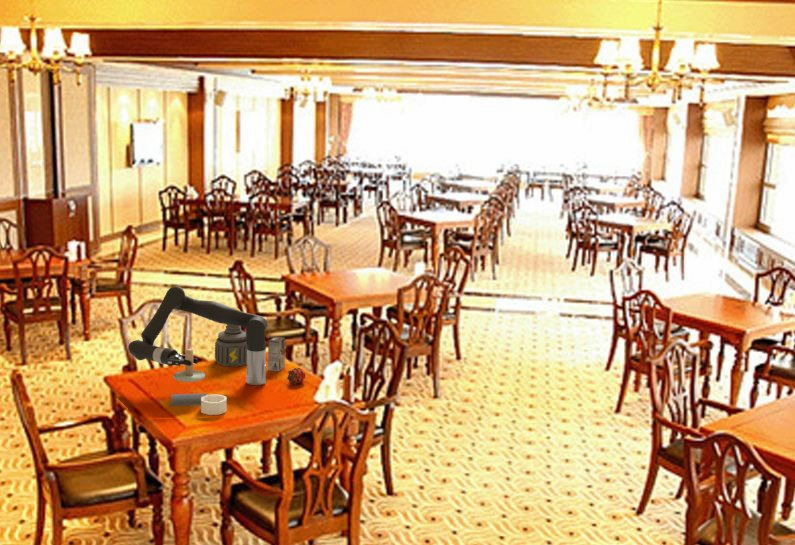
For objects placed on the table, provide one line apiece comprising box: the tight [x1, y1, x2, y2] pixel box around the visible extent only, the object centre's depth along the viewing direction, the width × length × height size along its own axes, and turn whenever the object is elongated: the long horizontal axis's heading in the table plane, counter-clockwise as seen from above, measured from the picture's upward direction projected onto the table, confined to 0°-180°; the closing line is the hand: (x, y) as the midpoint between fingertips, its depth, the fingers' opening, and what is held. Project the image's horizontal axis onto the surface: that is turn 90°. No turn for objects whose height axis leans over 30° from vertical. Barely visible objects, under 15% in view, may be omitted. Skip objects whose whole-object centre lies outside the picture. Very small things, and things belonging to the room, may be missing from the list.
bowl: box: [200, 394, 228, 416], centre depth 385 cm, size 11×11×6 cm
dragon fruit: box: [286, 367, 307, 385], centre depth 429 cm, size 8×8×12 cm
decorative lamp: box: [214, 306, 247, 368], centre depth 456 cm, size 19×19×30 cm
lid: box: [173, 348, 206, 383], centre depth 394 cm, size 14×14×13 cm
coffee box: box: [267, 336, 286, 372], centre depth 449 cm, size 9×6×16 cm
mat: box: [170, 393, 208, 407], centre depth 397 cm, size 16×16×1 cm
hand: (194, 362), depth 392 cm, fingers closed on lid, 3 cm apart
